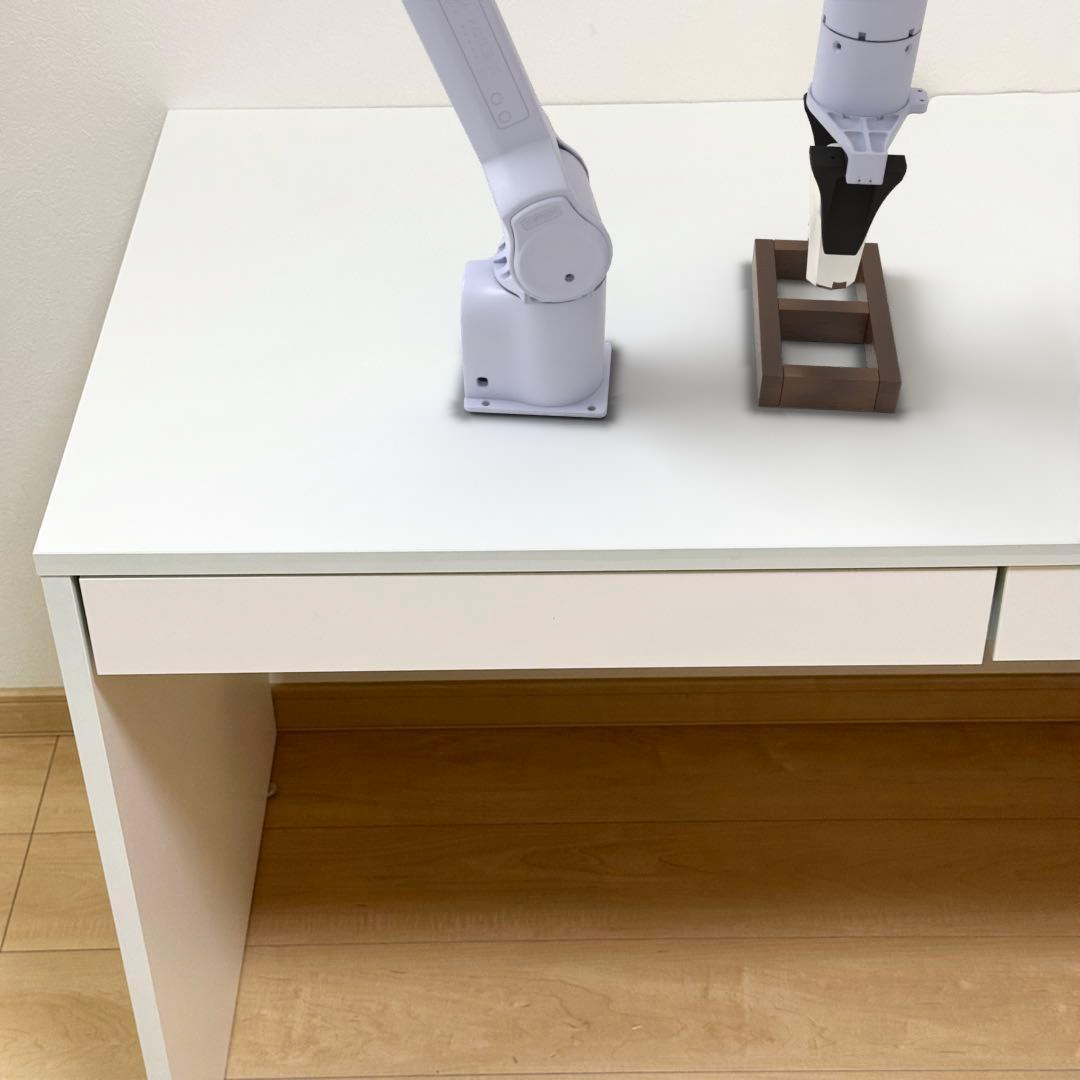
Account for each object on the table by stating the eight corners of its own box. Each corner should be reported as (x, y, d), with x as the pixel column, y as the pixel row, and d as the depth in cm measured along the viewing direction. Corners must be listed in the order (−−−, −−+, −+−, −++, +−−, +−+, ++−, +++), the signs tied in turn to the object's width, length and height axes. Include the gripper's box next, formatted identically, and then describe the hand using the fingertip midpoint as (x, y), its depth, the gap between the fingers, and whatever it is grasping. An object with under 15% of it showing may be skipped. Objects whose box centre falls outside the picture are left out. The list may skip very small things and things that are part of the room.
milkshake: (861, 253, 91) (887, 114, 84) (867, 298, 88) (894, 156, 81) (793, 249, 92) (813, 111, 85) (795, 294, 88) (817, 153, 81)
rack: (758, 406, 90) (762, 375, 89) (751, 268, 102) (754, 238, 100) (895, 413, 90) (902, 381, 88) (872, 272, 102) (877, 242, 100)
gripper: (959, 81, 72) (912, 295, 82) (928, -28, 83) (889, 173, 92) (825, 76, 73) (794, 290, 82) (811, -32, 83) (784, 169, 93)
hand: (836, 228), depth 87 cm, fingers closed on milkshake, 5 cm apart
